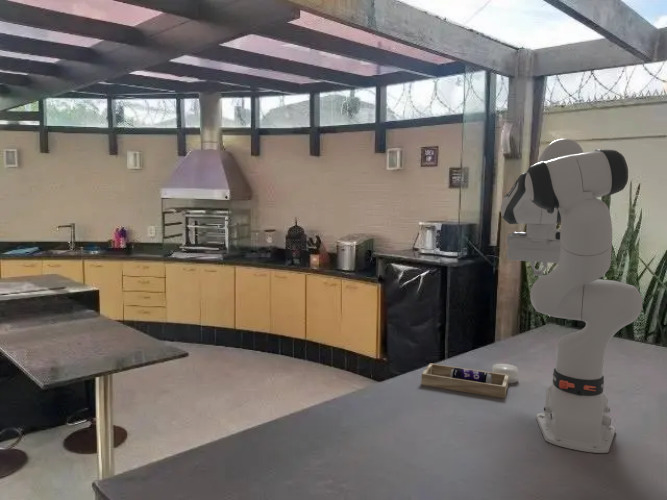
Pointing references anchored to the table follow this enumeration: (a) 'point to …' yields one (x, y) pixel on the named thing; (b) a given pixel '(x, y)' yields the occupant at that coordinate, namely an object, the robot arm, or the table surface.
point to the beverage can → (471, 375)
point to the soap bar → (507, 371)
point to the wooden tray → (464, 381)
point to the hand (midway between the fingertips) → (538, 275)
